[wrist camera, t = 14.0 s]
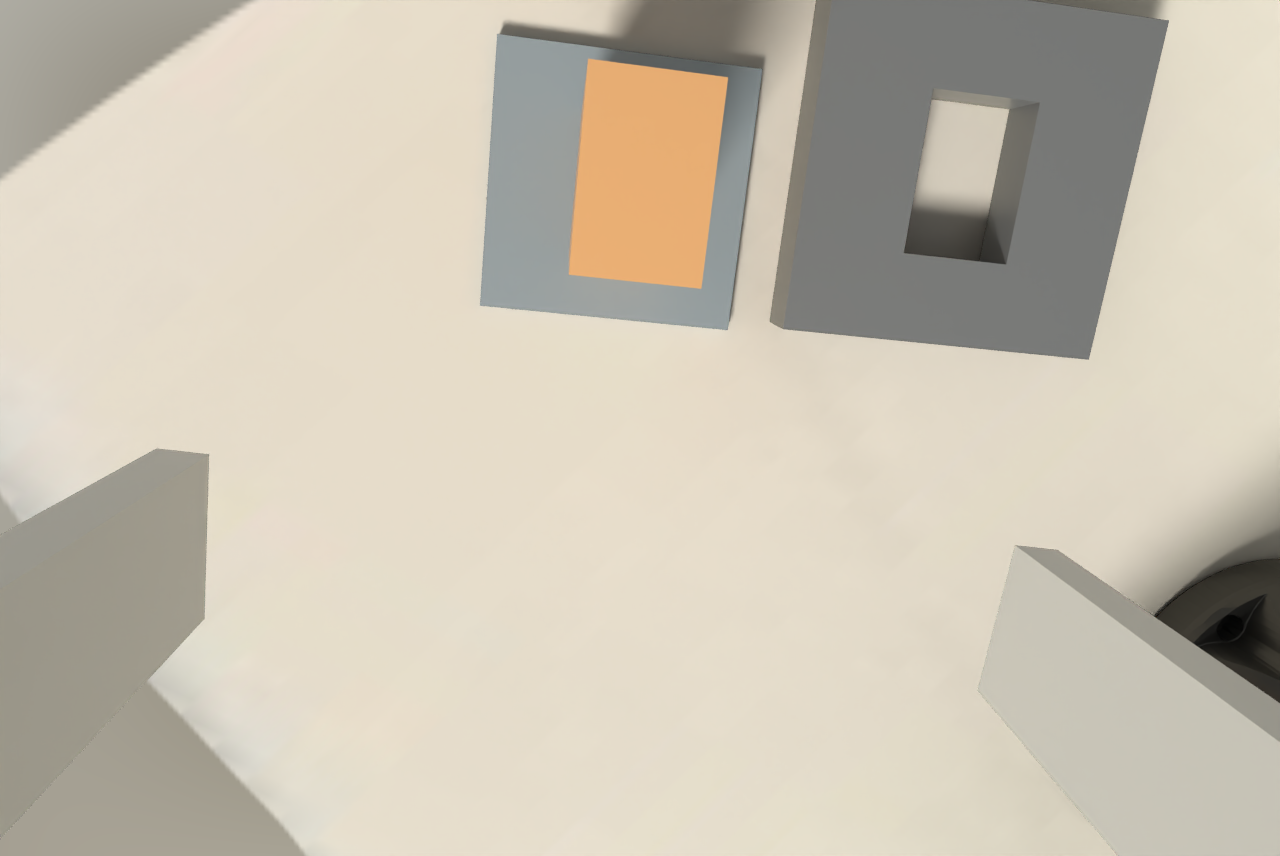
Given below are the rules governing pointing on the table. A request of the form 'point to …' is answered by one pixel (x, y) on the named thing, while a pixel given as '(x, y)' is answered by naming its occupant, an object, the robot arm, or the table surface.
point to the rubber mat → (545, 183)
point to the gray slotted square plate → (1025, 182)
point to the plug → (645, 173)
